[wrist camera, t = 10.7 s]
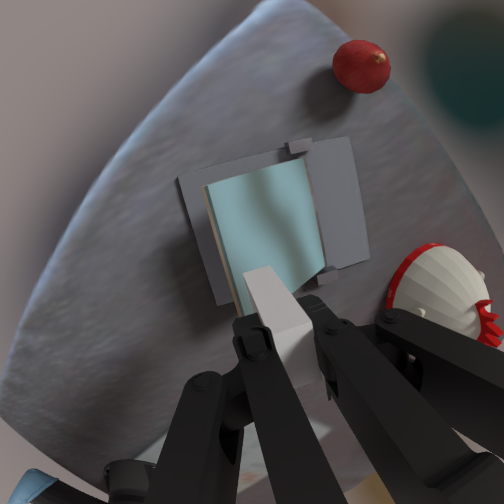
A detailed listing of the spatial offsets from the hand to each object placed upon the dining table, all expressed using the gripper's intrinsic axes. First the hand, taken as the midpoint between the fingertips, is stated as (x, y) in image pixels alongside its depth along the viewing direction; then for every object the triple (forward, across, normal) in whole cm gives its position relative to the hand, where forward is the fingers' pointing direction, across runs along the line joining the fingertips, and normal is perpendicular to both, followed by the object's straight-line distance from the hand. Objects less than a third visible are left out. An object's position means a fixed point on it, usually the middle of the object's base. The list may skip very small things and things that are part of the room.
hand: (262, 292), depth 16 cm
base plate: (+15, +5, 0) cm, 16 cm away
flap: (+14, +8, 0) cm, 16 cm away
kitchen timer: (+15, +23, -15) cm, 32 cm away
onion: (+15, +16, +14) cm, 26 cm away
